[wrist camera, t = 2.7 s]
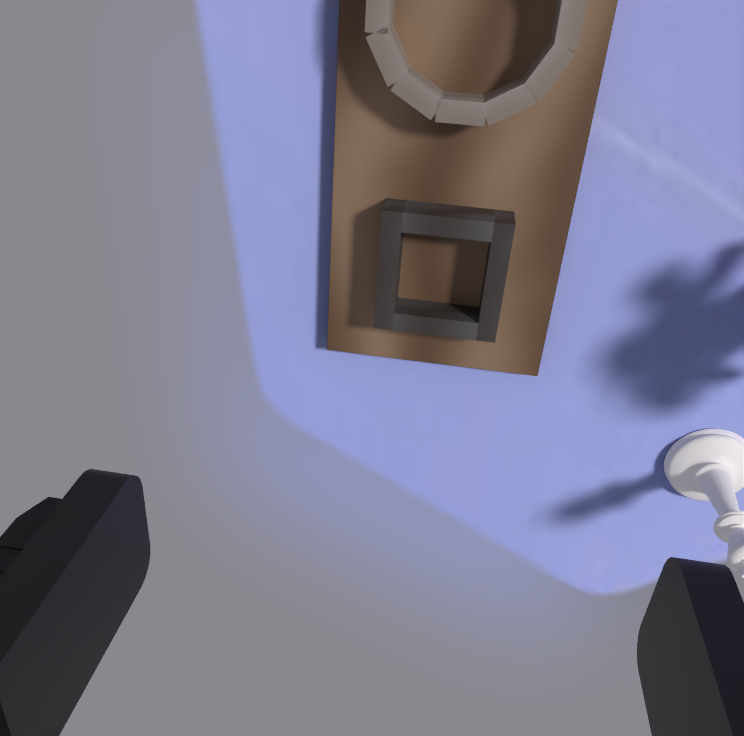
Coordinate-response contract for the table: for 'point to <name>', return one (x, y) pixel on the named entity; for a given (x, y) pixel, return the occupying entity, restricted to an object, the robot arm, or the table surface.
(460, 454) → the table surface
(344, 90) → the socket board
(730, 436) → the chess piece
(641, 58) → the table surface
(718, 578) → the robot arm
